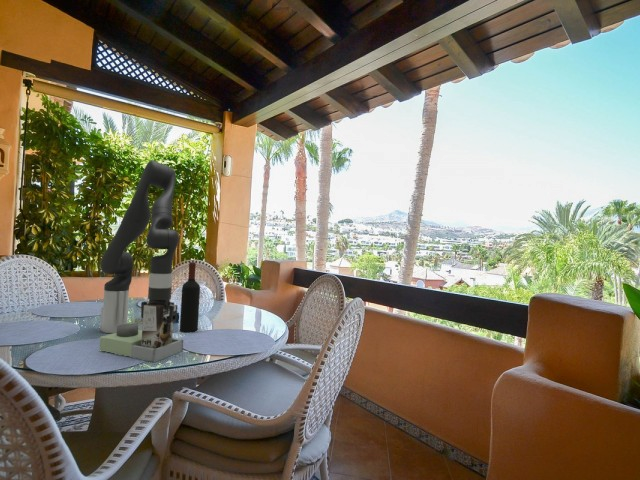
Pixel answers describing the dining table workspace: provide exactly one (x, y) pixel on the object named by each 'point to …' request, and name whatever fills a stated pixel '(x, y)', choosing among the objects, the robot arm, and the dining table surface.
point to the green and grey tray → (136, 344)
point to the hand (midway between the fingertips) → (157, 332)
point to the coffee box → (155, 326)
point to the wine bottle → (190, 302)
